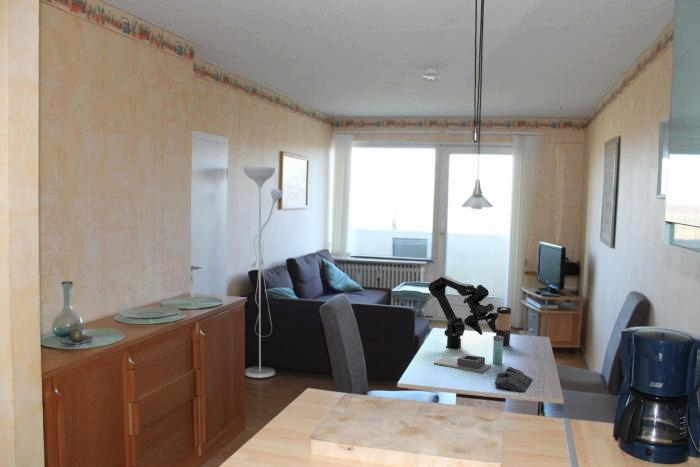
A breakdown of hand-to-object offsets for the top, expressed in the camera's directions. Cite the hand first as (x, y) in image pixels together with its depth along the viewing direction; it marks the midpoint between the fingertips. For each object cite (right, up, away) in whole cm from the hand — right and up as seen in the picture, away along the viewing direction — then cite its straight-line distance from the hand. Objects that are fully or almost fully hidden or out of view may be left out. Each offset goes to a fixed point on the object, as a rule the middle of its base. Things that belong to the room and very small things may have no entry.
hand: (488, 333), depth 287 cm
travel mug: (+15, -12, +31) cm, 36 cm away
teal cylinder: (+3, -13, -7) cm, 15 cm away
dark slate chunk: (+1, -16, -36) cm, 40 cm away
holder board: (-15, -13, -11) cm, 23 cm away
